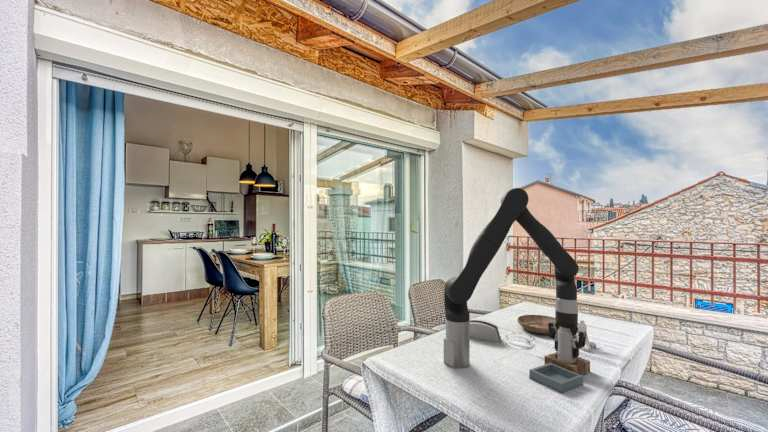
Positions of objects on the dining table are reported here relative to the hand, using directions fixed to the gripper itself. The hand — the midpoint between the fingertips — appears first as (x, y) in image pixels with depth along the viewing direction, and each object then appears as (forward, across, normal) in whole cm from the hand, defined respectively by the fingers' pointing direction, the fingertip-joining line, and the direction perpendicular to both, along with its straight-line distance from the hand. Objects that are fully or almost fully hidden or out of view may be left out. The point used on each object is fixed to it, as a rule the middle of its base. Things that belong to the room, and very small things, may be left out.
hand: (566, 354), depth 126 cm
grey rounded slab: (+6, -40, -3) cm, 40 cm away
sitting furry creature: (+6, -10, +28) cm, 30 cm away
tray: (+6, +4, -13) cm, 15 cm away
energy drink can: (+5, 0, 0) cm, 5 cm away
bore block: (+6, 0, 0) cm, 6 cm away
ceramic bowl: (+6, -34, +33) cm, 48 cm away
